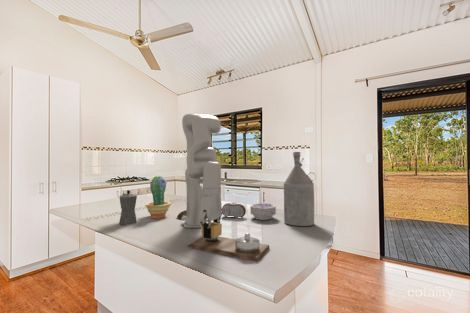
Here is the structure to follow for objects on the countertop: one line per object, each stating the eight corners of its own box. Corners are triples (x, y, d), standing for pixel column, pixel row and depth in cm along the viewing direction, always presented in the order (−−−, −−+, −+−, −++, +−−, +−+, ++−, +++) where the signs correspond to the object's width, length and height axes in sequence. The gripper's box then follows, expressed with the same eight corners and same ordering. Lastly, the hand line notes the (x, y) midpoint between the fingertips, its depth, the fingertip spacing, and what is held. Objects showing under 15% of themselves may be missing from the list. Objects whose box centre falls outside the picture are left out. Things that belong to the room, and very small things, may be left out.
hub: (231, 250, 84) (231, 234, 84) (241, 243, 92) (241, 228, 92) (254, 255, 80) (254, 238, 80) (262, 246, 88) (262, 231, 88)
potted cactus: (143, 220, 134) (144, 177, 135) (146, 214, 149) (146, 175, 150) (171, 218, 138) (171, 176, 139) (171, 213, 153) (171, 175, 154)
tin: (246, 217, 141) (246, 203, 141) (244, 219, 138) (244, 204, 138) (222, 216, 145) (222, 202, 145) (220, 217, 142) (221, 203, 142)
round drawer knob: (203, 241, 94) (203, 230, 94) (209, 237, 99) (209, 227, 99) (213, 243, 92) (213, 232, 92) (219, 239, 96) (219, 228, 97)
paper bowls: (247, 220, 134) (247, 206, 134) (253, 214, 149) (253, 202, 149) (274, 222, 130) (274, 208, 130) (277, 216, 144) (277, 203, 144)
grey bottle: (316, 228, 118) (315, 150, 120) (282, 225, 124) (281, 151, 125) (316, 222, 130) (315, 152, 131) (285, 219, 136) (284, 152, 137)
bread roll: (189, 214, 150) (189, 207, 150) (202, 217, 142) (202, 209, 142) (172, 218, 140) (172, 210, 140) (185, 221, 132) (185, 213, 132)
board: (188, 247, 91) (188, 243, 91) (206, 237, 103) (206, 234, 103) (257, 261, 78) (256, 257, 78) (269, 248, 90) (269, 245, 90)
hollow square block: (201, 236, 94) (201, 225, 94) (209, 232, 99) (209, 221, 100) (213, 238, 91) (214, 227, 92) (221, 234, 97) (221, 223, 97)
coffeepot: (141, 223, 126) (141, 190, 127) (123, 227, 120) (123, 192, 120) (131, 218, 138) (131, 188, 138) (113, 221, 131) (114, 189, 131)
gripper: (215, 189, 105) (214, 229, 105) (191, 193, 90) (191, 240, 89) (229, 190, 102) (229, 231, 101) (207, 195, 87) (207, 243, 86)
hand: (211, 235), depth 95 cm, fingers closed on hollow square block, 6 cm apart
